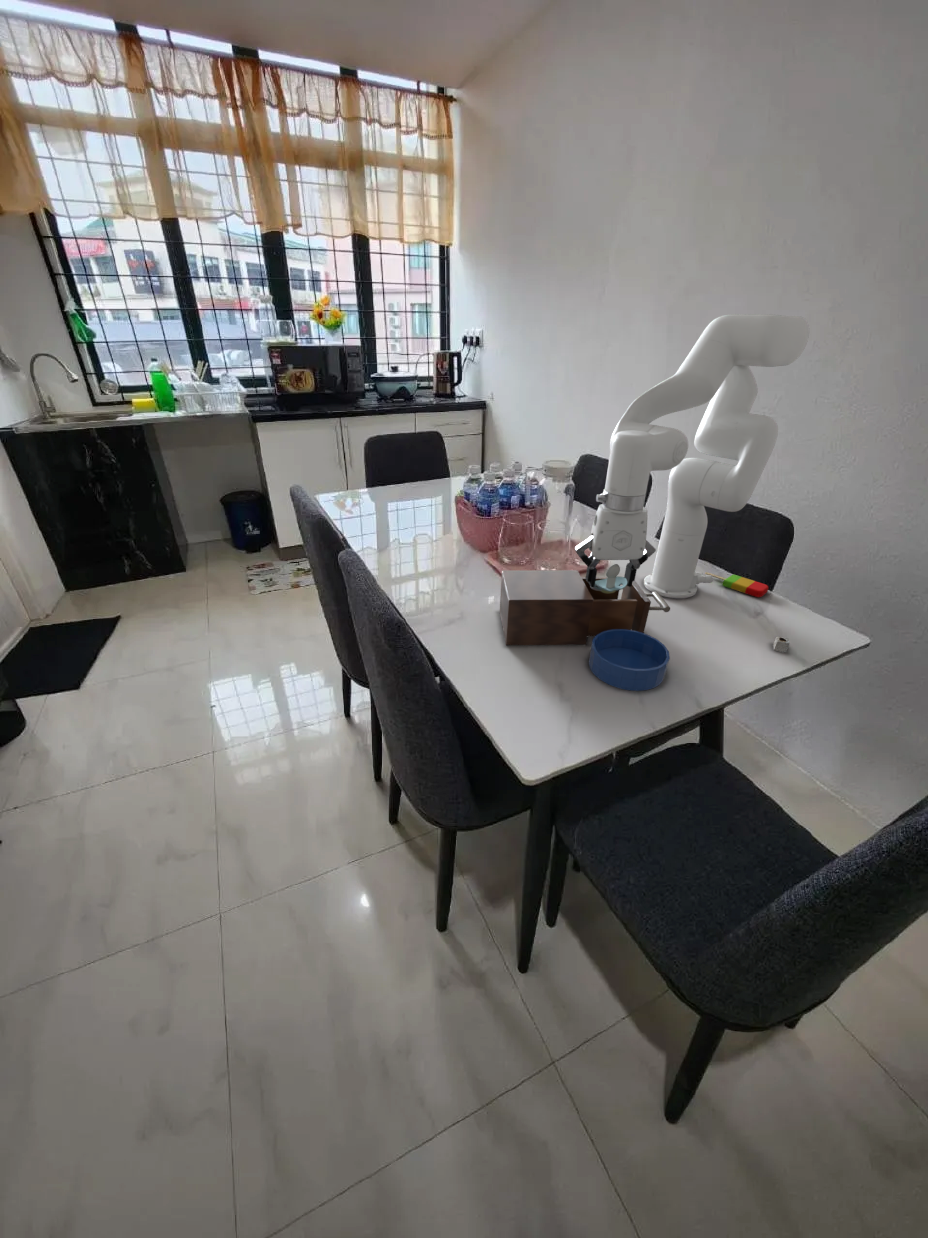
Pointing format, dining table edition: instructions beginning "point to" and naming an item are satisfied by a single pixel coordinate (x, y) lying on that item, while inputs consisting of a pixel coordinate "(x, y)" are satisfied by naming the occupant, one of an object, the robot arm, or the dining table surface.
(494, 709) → the dining table surface
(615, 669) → the bowl
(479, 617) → the dining table surface
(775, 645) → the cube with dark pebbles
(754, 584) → the popsicle
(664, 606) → the drawer
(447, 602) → the dining table surface
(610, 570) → the pacifier
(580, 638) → the cabinet
